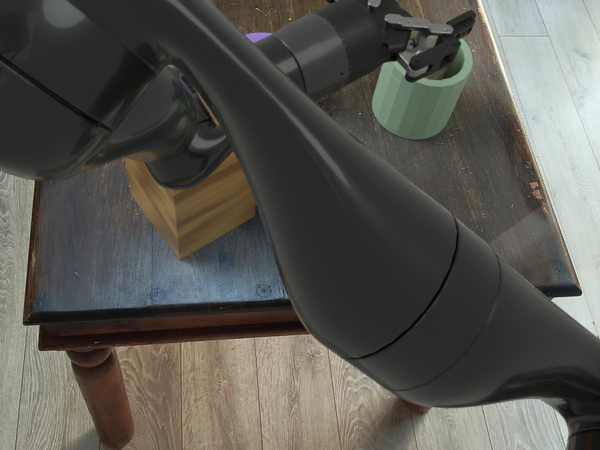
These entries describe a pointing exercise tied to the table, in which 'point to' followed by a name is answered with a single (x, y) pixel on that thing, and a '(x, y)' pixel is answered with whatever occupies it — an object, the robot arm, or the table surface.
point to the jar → (419, 97)
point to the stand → (194, 204)
